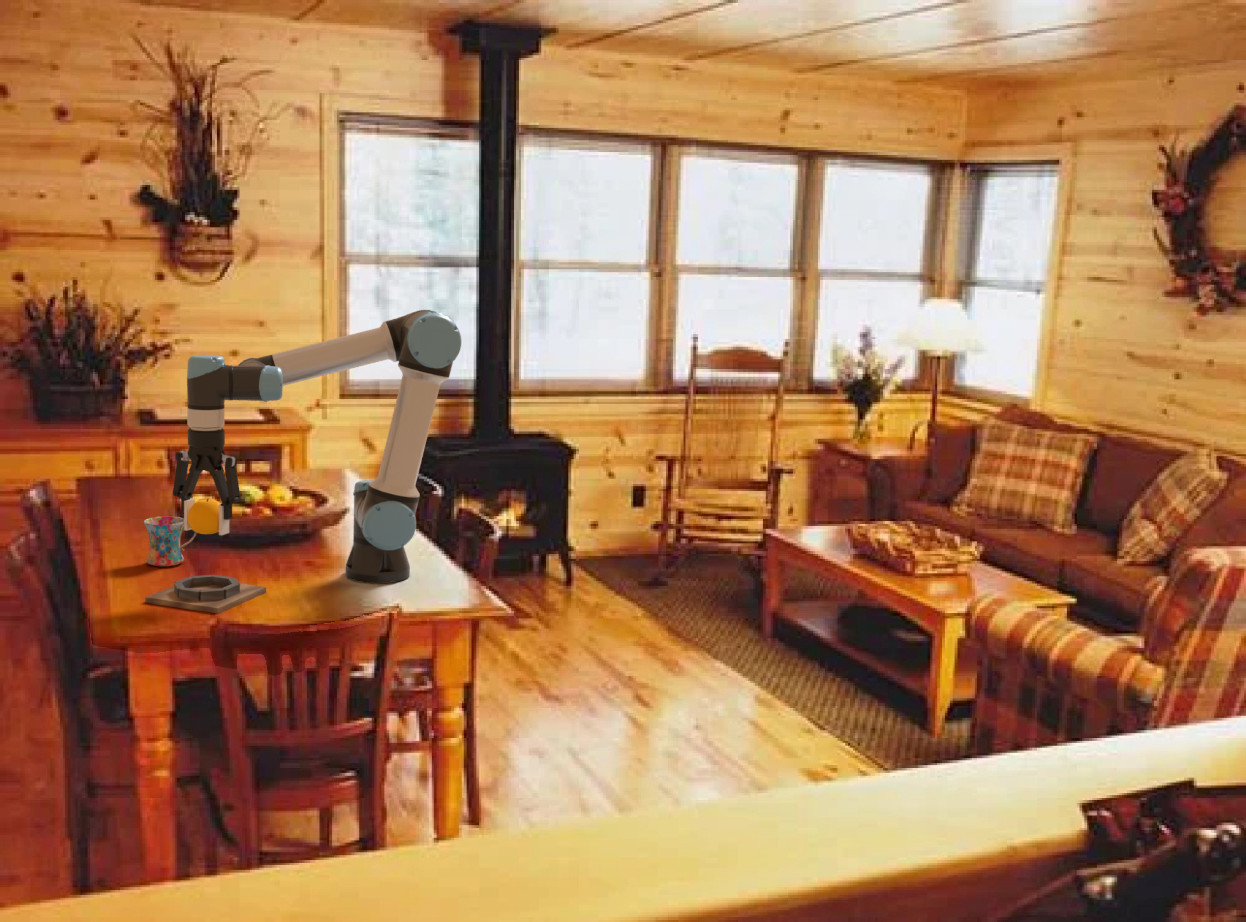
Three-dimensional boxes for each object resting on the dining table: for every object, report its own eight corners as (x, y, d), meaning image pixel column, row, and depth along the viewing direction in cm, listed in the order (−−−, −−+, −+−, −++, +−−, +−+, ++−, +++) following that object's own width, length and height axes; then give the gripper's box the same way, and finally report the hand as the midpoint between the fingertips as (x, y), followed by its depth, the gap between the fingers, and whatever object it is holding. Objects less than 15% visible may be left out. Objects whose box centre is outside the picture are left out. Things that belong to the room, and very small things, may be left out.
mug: (147, 570, 289) (147, 526, 288) (141, 560, 297) (141, 517, 295) (201, 566, 295) (200, 522, 293) (193, 556, 303) (193, 514, 301)
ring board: (266, 592, 277) (266, 578, 276) (218, 613, 260) (218, 598, 259) (196, 582, 282) (196, 568, 281) (145, 602, 265) (145, 588, 264)
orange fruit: (179, 533, 266) (179, 499, 265) (204, 526, 273) (204, 493, 272) (210, 538, 263) (210, 504, 262) (234, 531, 271) (234, 497, 269)
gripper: (258, 429, 265) (258, 533, 269) (175, 421, 271) (176, 522, 275) (238, 434, 258) (238, 540, 262) (153, 425, 264) (154, 529, 267)
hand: (206, 531), depth 268 cm, fingers closed on orange fruit, 8 cm apart
